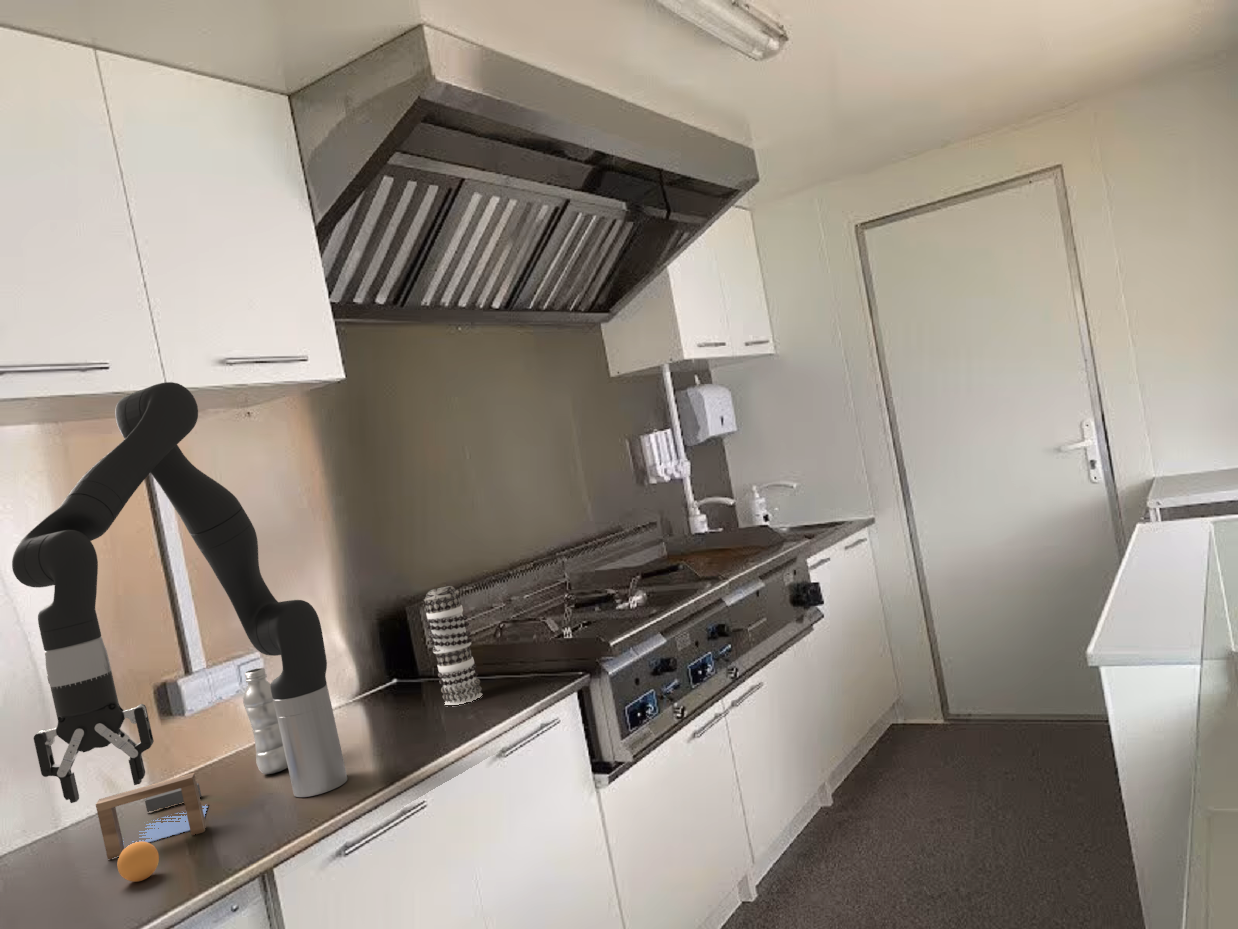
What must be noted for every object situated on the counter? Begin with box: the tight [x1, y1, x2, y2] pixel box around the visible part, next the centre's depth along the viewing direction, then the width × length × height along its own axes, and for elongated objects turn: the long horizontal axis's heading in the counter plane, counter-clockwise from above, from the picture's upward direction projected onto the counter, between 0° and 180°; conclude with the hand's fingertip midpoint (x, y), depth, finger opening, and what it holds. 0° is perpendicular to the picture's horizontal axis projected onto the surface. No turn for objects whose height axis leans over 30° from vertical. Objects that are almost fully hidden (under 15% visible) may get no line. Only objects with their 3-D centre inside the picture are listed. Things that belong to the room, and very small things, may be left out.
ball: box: [116, 841, 160, 883], centre depth 146 cm, size 6×6×6 cm
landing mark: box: [123, 804, 209, 843], centre depth 169 cm, size 13×13×1 cm
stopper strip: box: [144, 782, 202, 813], centre depth 182 cm, size 2×9×2 cm, turn 108°
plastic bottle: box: [242, 667, 288, 775], centre depth 190 cm, size 6×7×20 cm
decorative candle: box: [422, 585, 483, 706], centre depth 217 cm, size 9×9×25 cm
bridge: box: [95, 772, 207, 860], centre depth 162 cm, size 3×14×9 cm, turn 108°
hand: (106, 792), depth 136 cm, fingers open, 7 cm apart
